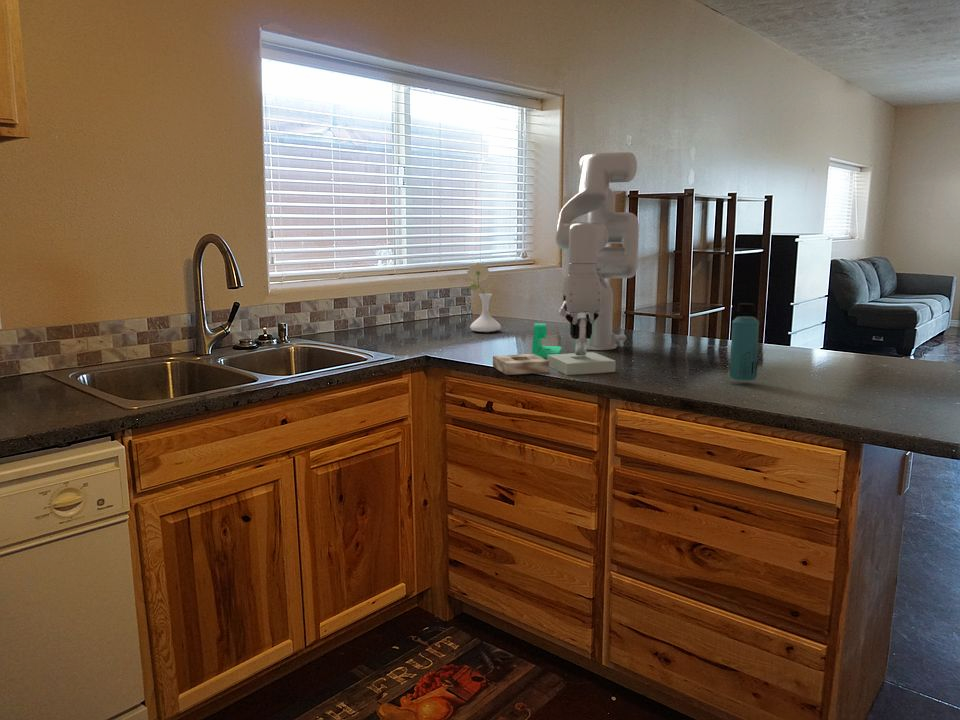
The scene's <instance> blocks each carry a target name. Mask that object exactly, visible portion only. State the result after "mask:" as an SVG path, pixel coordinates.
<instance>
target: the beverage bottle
mask: <svg viewBox="0 0 960 720" xmlns="http://www.w3.org/2000/svg"><path fill="white" fill-rule="evenodd" d="M736 311H737V312H738V313H747V314H750V313H756V304H755V303H751V302H741V303H740V302H739V303H738V304H737V309H736ZM731 323H732V325H731V327H732V328H731V340H730V341H731V342H730V343H731V344H730V357H729V361H730V362H729V373H728V374H729V377H730V379H733V380H737V381H755V380H756V378H757V376H758V362H759V361H758V355H759V339H760V338H759V329H760V328H759V326H760V321H759V320H758V319H757V318H756V317H754V316H745V315H744V316H736V317H735V318H734V319H733V320H732V322H731Z"/></svg>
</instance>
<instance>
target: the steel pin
mask: <svg viewBox="0 0 960 720" xmlns="http://www.w3.org/2000/svg"><path fill="white" fill-rule="evenodd" d="M577 324H578V325H579V331H578V339H574V341H575V343H574V346H575V348H574V350H575V351H574V353H575V355H578V356H584V355H586V353H587V350H586V345H587V318H582V317H577Z"/></svg>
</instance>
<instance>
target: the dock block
mask: <svg viewBox="0 0 960 720" xmlns="http://www.w3.org/2000/svg"><path fill="white" fill-rule="evenodd" d="M546 360H548V361H549V368H552V369H554V370H556V371H558V372H560V373H562V374H564V375H566V376H571V375H586V374H601V373H616V363H617V362H616V361H617V360H614V359H612V358H609V357H608V356H604V355H602V354H600V353H597V352H594V351H592V352H588V351H586V355H584V356H578V355H575V352H573V353H570V352H569V353H561V354H553V355H547V359H546Z"/></svg>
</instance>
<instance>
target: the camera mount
mask: <svg viewBox="0 0 960 720" xmlns="http://www.w3.org/2000/svg"><path fill="white" fill-rule="evenodd" d="M532 337H533V338H532V348H531V349H532V350H531V354H535V355H537V356H540V357H542V358H544V359H546V360H547V355H553V354H562V349H563V347H562V346H559V345H542V343H543V342H542V339H546V338H547V323H543V322H542V323H541V322H540V323H538V322H537V323H536V322H535V323H534V325H533V336H532Z"/></svg>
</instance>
